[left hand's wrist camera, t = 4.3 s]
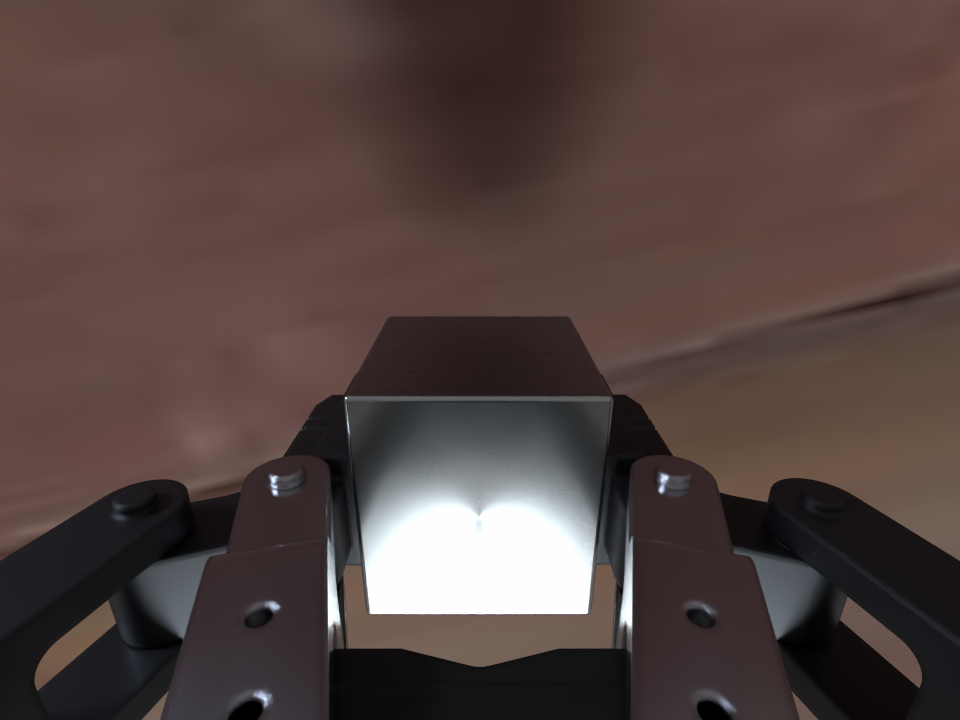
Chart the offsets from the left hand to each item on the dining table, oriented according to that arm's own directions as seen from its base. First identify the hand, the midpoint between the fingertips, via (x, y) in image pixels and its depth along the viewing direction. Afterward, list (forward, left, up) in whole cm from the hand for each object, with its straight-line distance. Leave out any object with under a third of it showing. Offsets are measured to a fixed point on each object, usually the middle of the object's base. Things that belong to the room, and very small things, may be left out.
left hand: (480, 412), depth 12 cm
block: (0, 0, 0) cm, 0 cm away
